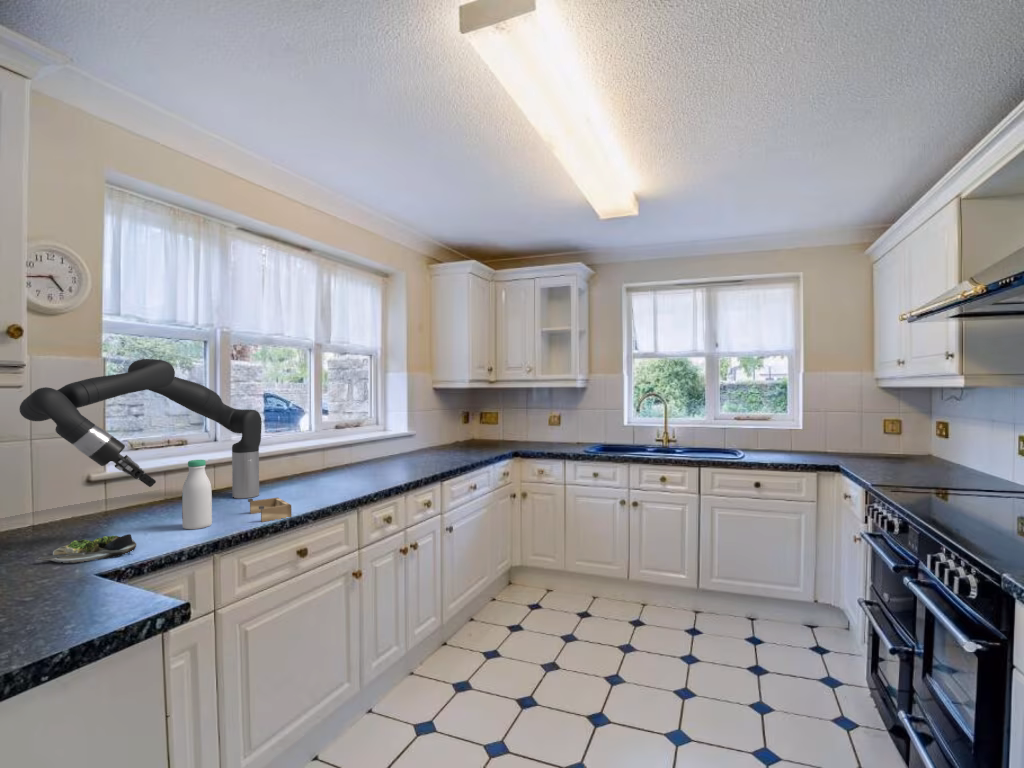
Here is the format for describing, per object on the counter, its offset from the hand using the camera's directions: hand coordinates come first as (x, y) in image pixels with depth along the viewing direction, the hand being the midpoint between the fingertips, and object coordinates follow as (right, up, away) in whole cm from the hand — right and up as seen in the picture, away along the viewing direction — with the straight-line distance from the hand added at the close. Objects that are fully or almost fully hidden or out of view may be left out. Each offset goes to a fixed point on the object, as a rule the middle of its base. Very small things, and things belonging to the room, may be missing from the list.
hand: (153, 484), depth 155 cm
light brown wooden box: (+25, -14, +20) cm, 35 cm away
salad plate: (-2, -15, -18) cm, 23 cm away
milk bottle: (+9, -14, +7) cm, 18 cm away
